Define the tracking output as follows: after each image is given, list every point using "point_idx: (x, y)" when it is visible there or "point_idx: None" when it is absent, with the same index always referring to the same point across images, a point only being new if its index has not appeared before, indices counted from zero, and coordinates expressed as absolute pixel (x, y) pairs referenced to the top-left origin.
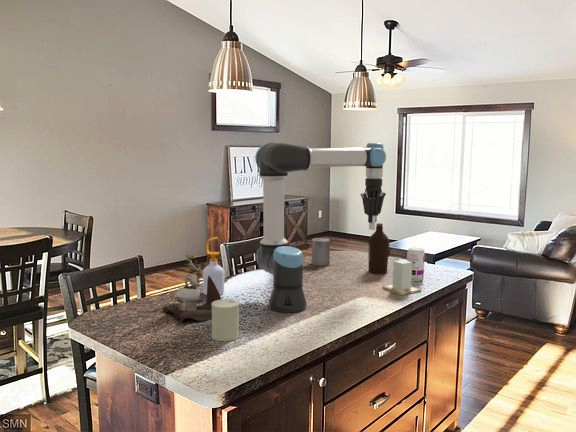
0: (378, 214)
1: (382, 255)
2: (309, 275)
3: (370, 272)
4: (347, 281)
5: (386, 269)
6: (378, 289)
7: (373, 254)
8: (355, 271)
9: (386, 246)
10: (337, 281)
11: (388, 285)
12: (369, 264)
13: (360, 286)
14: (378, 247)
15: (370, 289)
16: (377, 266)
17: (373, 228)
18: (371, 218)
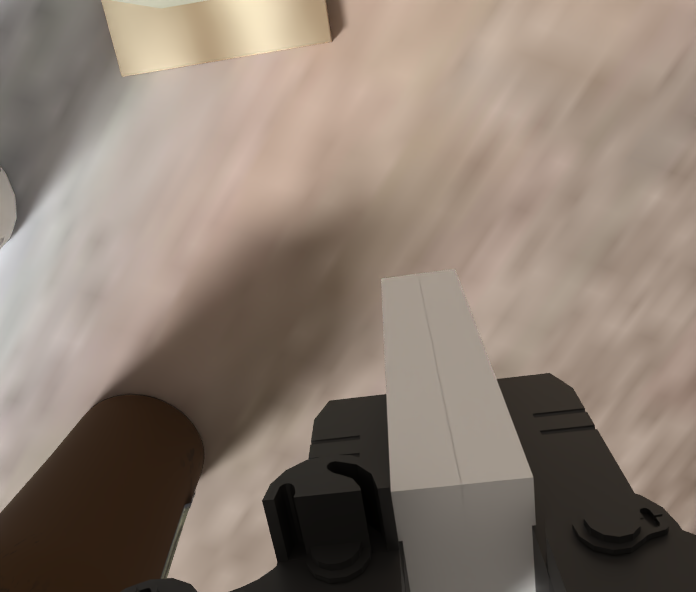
0: (269, 492)
1: (85, 476)
2: None
3: (202, 444)
4: (478, 305)
5: (85, 416)
6: (378, 27)
7: (154, 516)
8: None
9: (6, 531)
10: (546, 327)
11: (271, 48)
12: (191, 491)
13: (465, 155)
14: (94, 539)
15: (439, 50)
16: (154, 434)
17: (432, 286)
18: (543, 450)
